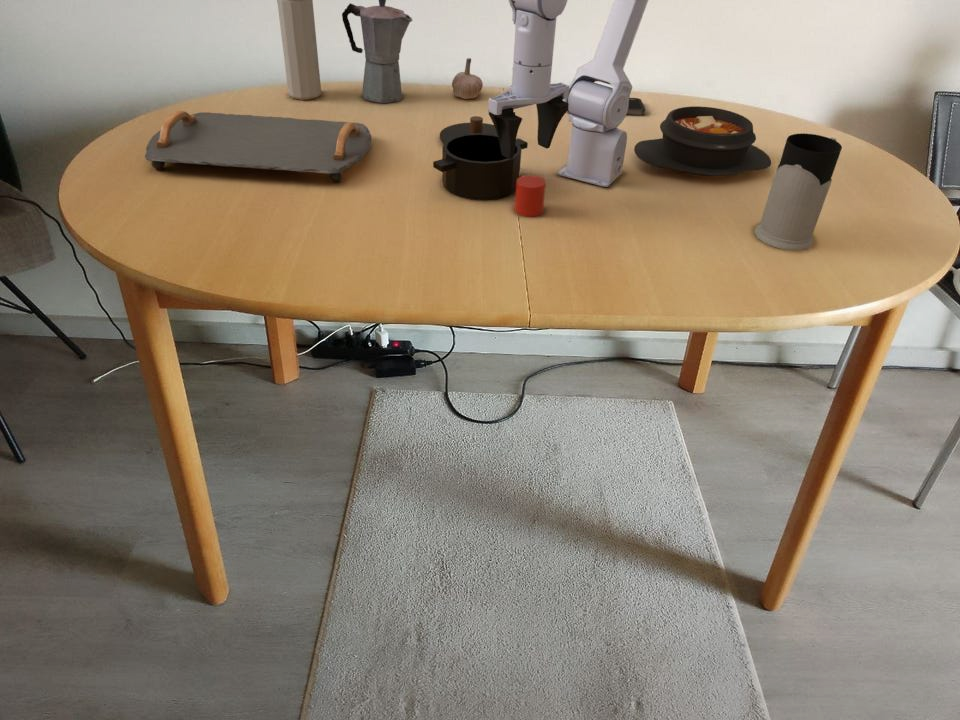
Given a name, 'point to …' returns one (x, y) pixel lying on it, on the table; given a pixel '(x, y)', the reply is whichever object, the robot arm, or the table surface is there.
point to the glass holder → (798, 191)
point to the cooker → (479, 167)
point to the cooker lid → (467, 129)
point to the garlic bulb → (467, 83)
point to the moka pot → (380, 49)
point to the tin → (529, 195)
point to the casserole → (704, 143)
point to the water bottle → (300, 48)
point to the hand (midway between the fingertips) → (525, 151)
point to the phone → (635, 107)
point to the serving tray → (259, 143)
